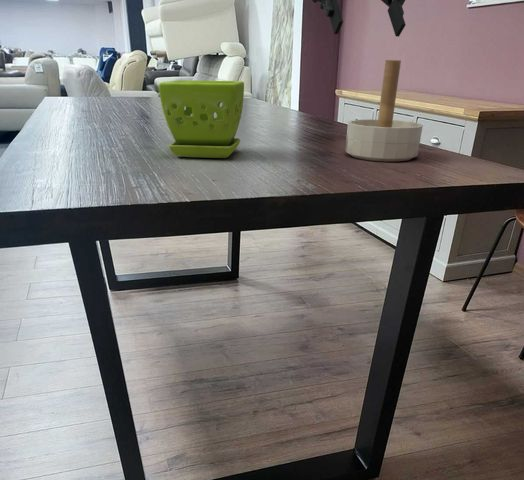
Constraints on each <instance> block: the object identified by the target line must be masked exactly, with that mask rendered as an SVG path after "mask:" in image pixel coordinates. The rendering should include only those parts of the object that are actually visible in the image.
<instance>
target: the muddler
mask: <svg viewBox="0 0 524 480" xmlns="http://www.w3.org/2000/svg"><path fill="white" fill-rule="evenodd" d="M384 62H385V63H384V69H383V76H382V84H381V92H380V99H379V107H378V116H377V119H378V123H377V127H392V121H393V120H394V112H395V107H396V100H397V99H396V98H397V93H398V85H399V79H400V78H399V77H400V71H401V63H402V60H399V59H385V60H384Z"/></svg>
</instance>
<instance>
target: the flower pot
mask: <svg viewBox="0 0 524 480" xmlns="http://www.w3.org/2000/svg"><path fill="white" fill-rule="evenodd" d="M158 93H159V99H160V104H161V108H162V112H163V116H164V118H165V121H166V125H167V127H168V129H169V131H170V134H171V135H172V137H173V140H174V141H173V142H172V143H169V144H168V147H169V150H170V151H171V152H172V154H173V155H175V156H176V158H201V159H202V158H204V159H205V158H208V159H227V158H228V157H230V155H232V153H233V152H235V150H236V149H237V148H238V146H239V145H240V143H241V139H240V138H238V137H236V135H237V132H238V129H239V125H240V123H241V122H240V121H241V117H242V112H243V107H244V98H245V95H244V94H245V82H244V81H243V80H166V81H161V82H159V83H158ZM215 114H216V117H215Z"/></svg>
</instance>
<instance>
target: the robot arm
mask: <svg viewBox="0 0 524 480" xmlns="http://www.w3.org/2000/svg"><path fill="white" fill-rule="evenodd" d="M380 1H381V2H382V3H383V4H385V5H386V6H387V7H388V8H387V13H388V16H389V20H390V23H391V26H392V30H393V33H394V36H395V37H400V35H401V34H402V32H403V30H404V29H405V27H406V22H405V19H404V15H405V11H404V9H403V7H404V4H405V2H406V0H380ZM311 2H312V3H313V4H316V3H318V2H319V8H320V9H321V10H324V13H325V17H326V18H327V17H328V18H329V20H330V21H329V22H330V25H331V27H332V31H333V35H339V33H340V31H341V28H342V26H343V23H344V19H343V16H342V12H341V10H340V6H339V2H338V0H311Z"/></svg>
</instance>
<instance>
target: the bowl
mask: <svg viewBox="0 0 524 480" xmlns="http://www.w3.org/2000/svg"><path fill="white" fill-rule="evenodd" d="M377 123H378V118H376V119H375V118H374V119H373V118H371V119H369V118H367V119H353V120H349V121H347V129H346V138H345V149H344V150H345V151H344V152H346V154H349V156H351V157H352V158H355V159H360V160H364V161H374V162H406V161H410V160H412V159H414V158H417V157H418V155H419V151H420V145H421V139H422V134H423V128H424V125H423V124H422V123H419V122H415V121H409V120H397V119H393V121H392V127H377Z"/></svg>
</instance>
